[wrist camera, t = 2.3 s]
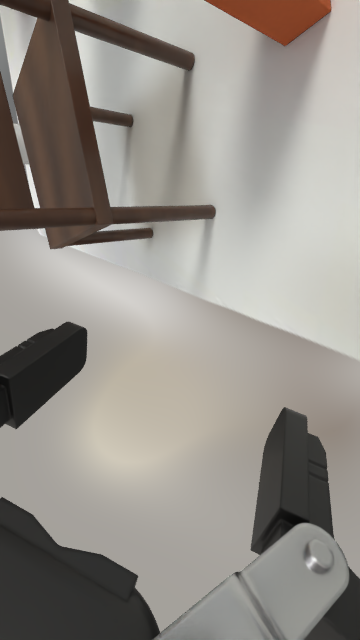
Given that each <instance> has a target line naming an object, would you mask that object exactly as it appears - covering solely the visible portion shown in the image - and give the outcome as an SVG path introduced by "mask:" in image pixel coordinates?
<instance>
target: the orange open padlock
mask: <svg viewBox="0 0 360 640" xmlns="http://www.w3.org/2000/svg"><path fill="white" fill-rule="evenodd" d="M205 1H206V2H208V3H210V4H212V5H213V6H215V7H217V8H219V9H221V10H222V11H224V12H226V13H228V14H229V15H231V16H233V17H235V18H236V19H238V20H240V21H242V22H244V23H245V24H247V25H249V26H251V27H252V28H254V29H256V30H258V31H259V32H261V33H263V34H265V35H266V36H268V37H270V38H272V39H274V40H275V41H277V42H279V43H281V44H282V45H284V46H286V45H287V44H288V43H290V42H291V41H292V40H294V39H295V38H296V37H298V36H299V35H300V34H302V33H303V32H304V31H305V30H307V29H308V28H309V27H311V26H312V25H313V24H315V23H316V22H317V21H319V20H320V19H321V18H323V17H324V16H325V15H327V14H328V13H329V12H330V11H331V2H330V0H205Z"/></svg>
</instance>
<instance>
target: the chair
mask: <svg viewBox="0 0 360 640" xmlns="http://www.w3.org/2000/svg"><path fill="white" fill-rule="evenodd" d="M0 5H3V6H6V7H9V8H11V9H14V10H17V11H20V12H23V13H26V14H29V15H31V16H34V17H37V21H36V24H35V28H34V31H33V34H32V37H31V40H30V43H29V46H28V49H27V53H26V56H25V59H24V62H23V65H22V68H21V71H20V74H19V78H18V81H17V84H16V87H15V90H14V93H13V99H14V103H15V107H16V111H17V116H18V120H19V124H20V128H21V132H22V136H23V140H24V144H25V148H26V152H27V156H28V160H29V164H30V168H31V173H32V177H33V181H34V185H35V189H36V193H37V197H38V201H39V205H40V208H34V205H33V201H32V197H31V193H30V189H29V185H28V181H27V177H26V173H25V169H24V165H23V161H22V157H21V153H20V149H19V145H18V141H17V137H16V133H15V129H14V125H13V121H12V117H11V113H10V109H9V104H8V101H7V97H6V92H5V89H4V85H3V80H2V76H1V72H0V231H4V230H21V229H39V228H45V230H46V234H47V238H48V242H49V245H50V249H58V248H63V247H65V246H72V245H83V244H93V243H103V242H114V241H124V240H135V239H145V238H152V236H153V231H152V229H151V228H140V229H126V230H112V231H99V230H101V229H103V228H105V227H107V226H110V225H112V224H127V223H145V222H162V221H180V220H197V219H212V218H213V217H214V216H215V208H214V207H213V206H212V205H199V206H143V207H110V204H109V199H108V194H107V189H106V184H105V179H104V174H103V169H102V165H101V160H100V155H99V150H98V145H97V140H96V135H95V130H94V125H93V121H97V122H102V123H108V124H114V125H120V126H126V127H131V126H132V123H133V118H132V116H131V115H129V114H124V113H119V112H114V111H109V110H104V109H99V108H94V107H90V105H89V100H88V95H87V90H86V85H85V80H84V75H83V71H82V66H81V61H80V56H79V51H78V46H77V41H76V36H75V31H77V32H80V33H83V34H85V35H88V36H91V37H94V38H97V39H100V40H103V41H105V42H108V43H111V44H114V45H117V46H120V47H122V48H125V49H128V50H131V51H134V52H137V53H140V54H142V55H145V56H148V57H151V58H154V59H157V60H159V61H162V62H165V63H168V64H171V65H174V66H177V67H179V68H182V69H185V70H188V71H189V70H191V69H192V67H193V65H194V55H193V53H191V52H189V51H186V50H184V49H181V48H179V47H176V46H174V45H171V44H169V43H166V42H164V41H162V40H159V39H157V38H154V37H152V36H149V35H147V34H144V33H142V32H139V31H137V30H134V29H132V28H129V27H127V26H124V25H122V24H119V23H117V22H115V21H112V20H110V19H107V18H105V17H102V16H100V15H97V14H95V13H92V12H90V11H87V10H85V9H82V8H80V7H77V6H75V5H72V4H70V3H69V1H68V0H0ZM97 231H98V232H97Z"/></svg>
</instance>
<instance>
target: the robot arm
mask: <svg viewBox="0 0 360 640" xmlns="http://www.w3.org/2000/svg"><path fill="white" fill-rule="evenodd" d="M86 355H87V330H86V328H84V327H81V326H79V325H76V324H73V323H71V322H66V323H64V324H62V325H61V326H59V327H58V328H56V329H49V330H46V331H42V332H39V333H37V334H35V335H34V336H32V337H31V338H29V339H28V340H27V341H24V342H22V343H21V344H19V345H18V347H17V346H16V347H14V348H13V349H11V350H10V351H8V352H6V353H4V354H3V355H1V356H0V427H1V426H3V425H4V424H7V425H9V426H11V427H13V428H15V429H17V428H18V427H19V426H20V425H21V424H23V423H24V422H25V421H26V420H27V419H28V418H29V417H30V416H31V415H32V414H34V413H35V412H36V411H37V410H38V409H39V408H40V407H41V406H43V405H44V404H45V403H46V402H47V401H48V400H49V399H50V398H51V397H52V396H53V395H55V394H56V393H57V392H58V391H59V390H60V389H61V388H62V387H64V386H65V385H66V384H67V383H68V382H69V381H70V380H71V379H72V378H73V377H75V375H77V374H78V373H79V372H80V371H81V369H82V368H83V367H84V365H85V362H86ZM251 551H253V552H255V553H258V554H259V555H260V556H259V557H258V558H257V559H255V560H254V561H253V562H252V563H250V564H249V565H248V566H247V567H246V568H244V569H243V570H242V571H240V572H235V573H233V574H232V575H231V576H229V577H228V578H226V579H225V580H224V581H223V582H222V583H220V584H219V585H218V586H217V587H215V588H214V589H213V590H212V591H211V592H209V593H208V594H207V595H206V596H205V597H203V598H202V599H201V600H200V601H199V602H197V603H196V604H195V605H194V606H193V607H191V608H190V609H189V610H188V611H187V612H185V613H184V614H183V615H181V616H180V617H179V618H178V619H177V620H176V621H174V622H173V623H172V624H171V625H169V626H168V627H167V628H166V629H165V630H163V631H162V632H161V633H160V631H159V628H158V626H157V623H156V620H155V618H154V616H153V614H152V612H151V610H150V608H149V606H148V604H147V603H146V602H145V600H144V598H143V597H142V596H141V594H140V593H139V592H138V591H137V590H136V588H135V585H136V582H137V578H138V576H137V575H136V574H134V573H133V572H131V571H129V570H127V569H126V568H124V567H122V566H120V565H118V564H117V563H115V562H114V561H112V560H110V559H108V558H107V557H105V556H103V555H101V554H96V553H91V552H86V551H81V550H76V549H72V548H67V547H62V546H59V545H58V544H57V543H56V542H55V541H54V540H53V539H52V538H51V537H50V535H49V534H48V533H47V532H46V530H45V529H44V528H43V527H42V526H41V524H40V523H39V522H38V521H37V520H36V518H35V517H34V516H33V515H32V514H31V513H29V512H27V511H25V510H24V509H22V508H20V507H18V506H17V505H15V504H13V503H12V502H10V501H8V500H6V499H5V498H3V497H2V498H1V499H0V640H360V579H359V578H358V577H357V576H356V575H355V574H354V572H353V571H352V570H351V569H350V568H349V566H348V564H347V561H346V558H345V556H344V554H343V551H342V550H341V548H340V547H339V545H338V544H337V542H335V539H334V535H333V526H332V515H331V504H330V493H329V483H328V472H327V460H326V452H325V450H324V448H323V446H322V444H321V442H320V440H319V438H318V437H316V436H314V435H312V434H309V433H308V431H307V417H306V416H305V415H303V414H300V413H298V412H295V411H293V410H290V409H288V408H285V407H284V408H283V409H282V411H281V413H280V415H279V417H278V418H277V420H276V422H275V424H274V426H273V428H272V430H271V432H270V434H269V436H268V438H267V441H266V444H265V447H264V452H263V459H262V467H261V474H260V482H259V490H258V497H257V505H256V513H255V520H254V528H253V536H252V543H251Z"/></svg>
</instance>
